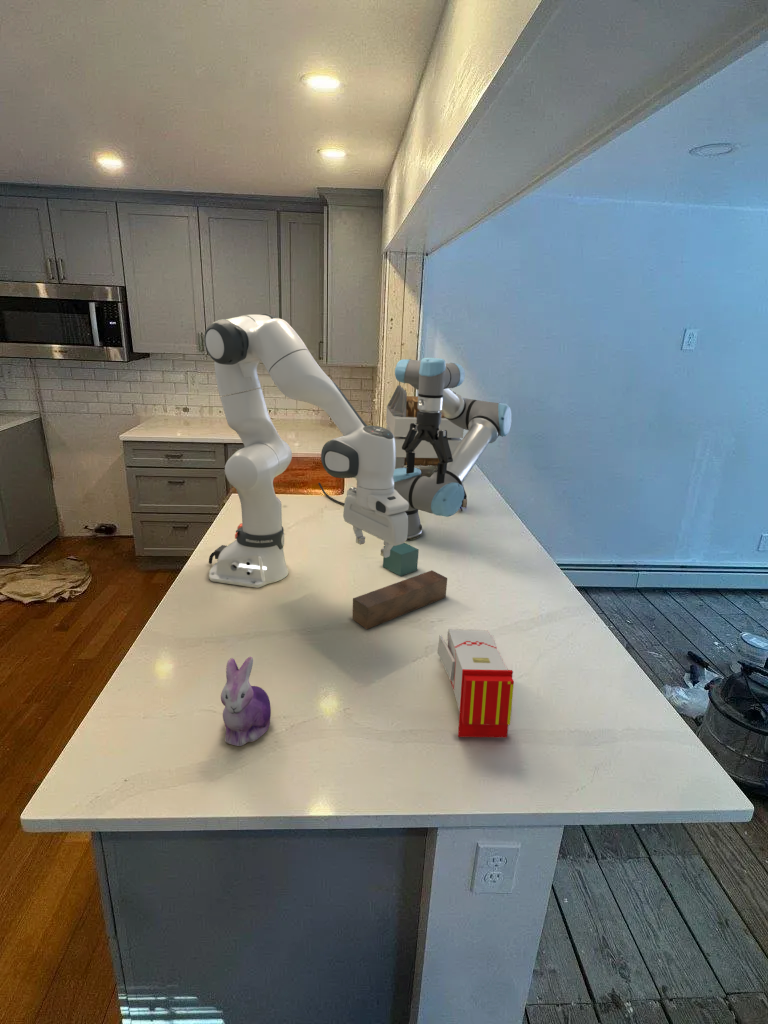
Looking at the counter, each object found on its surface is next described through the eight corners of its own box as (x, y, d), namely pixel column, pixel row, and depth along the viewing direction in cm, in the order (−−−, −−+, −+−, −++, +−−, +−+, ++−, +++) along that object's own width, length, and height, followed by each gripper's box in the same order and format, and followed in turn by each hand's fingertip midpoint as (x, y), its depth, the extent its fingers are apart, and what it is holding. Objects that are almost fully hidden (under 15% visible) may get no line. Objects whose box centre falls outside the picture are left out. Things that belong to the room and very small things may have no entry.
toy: (488, 613, 130) (523, 677, 101) (484, 667, 133) (517, 744, 104) (435, 612, 130) (455, 676, 101) (432, 666, 133) (451, 743, 103)
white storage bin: (382, 463, 289) (386, 382, 275) (445, 464, 293) (451, 384, 279) (390, 482, 257) (394, 392, 243) (460, 483, 261) (468, 394, 247)
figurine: (228, 756, 99) (223, 684, 94) (215, 719, 107) (210, 651, 102) (280, 740, 103) (279, 670, 98) (264, 706, 111) (262, 640, 106)
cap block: (400, 576, 168) (401, 554, 166) (382, 566, 174) (383, 545, 172) (417, 570, 173) (418, 549, 170) (399, 561, 178) (400, 540, 176)
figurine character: (467, 516, 223) (461, 500, 237) (469, 499, 220) (463, 483, 233) (450, 516, 223) (446, 499, 236) (452, 498, 220) (447, 483, 233)
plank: (367, 629, 140) (367, 607, 138) (352, 619, 144) (352, 598, 142) (445, 597, 157) (447, 577, 155) (430, 589, 161) (432, 570, 159)
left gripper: (337, 486, 139) (336, 538, 144) (393, 510, 125) (390, 567, 129) (358, 482, 143) (356, 533, 148) (414, 505, 129) (410, 560, 133)
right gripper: (393, 405, 179) (389, 470, 186) (451, 418, 161) (445, 489, 168) (410, 403, 183) (406, 467, 190) (468, 416, 166) (462, 485, 173)
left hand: (372, 549), depth 138 cm, fingers open, 8 cm apart
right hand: (424, 478), depth 179 cm, fingers open, 13 cm apart
